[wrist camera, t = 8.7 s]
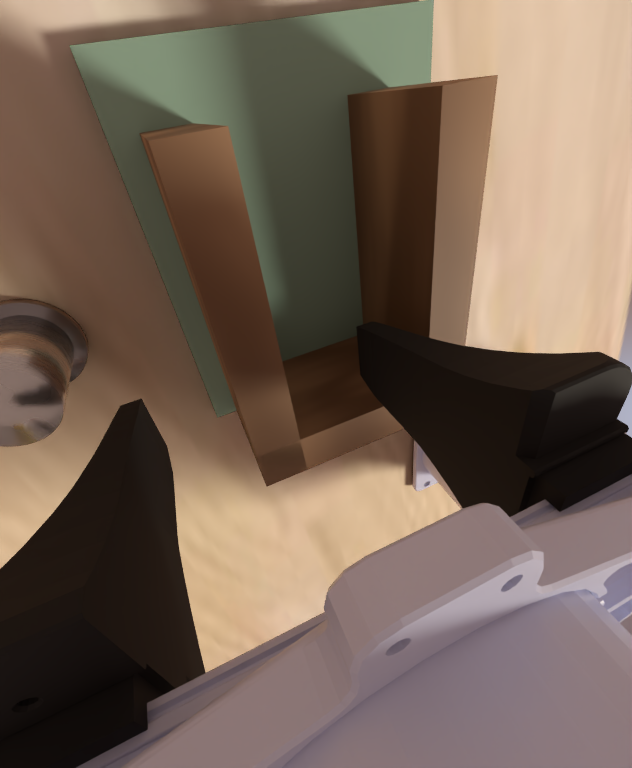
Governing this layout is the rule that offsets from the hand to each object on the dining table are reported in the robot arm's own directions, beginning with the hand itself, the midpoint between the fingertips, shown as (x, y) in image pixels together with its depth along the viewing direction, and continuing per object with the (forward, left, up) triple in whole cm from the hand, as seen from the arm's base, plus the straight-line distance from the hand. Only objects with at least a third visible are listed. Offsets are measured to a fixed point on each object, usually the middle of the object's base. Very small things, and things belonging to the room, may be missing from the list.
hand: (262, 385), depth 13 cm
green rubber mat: (-4, -3, -5) cm, 7 cm away
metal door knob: (+7, -2, -5) cm, 9 cm away
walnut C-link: (-3, -2, -4) cm, 6 cm away
